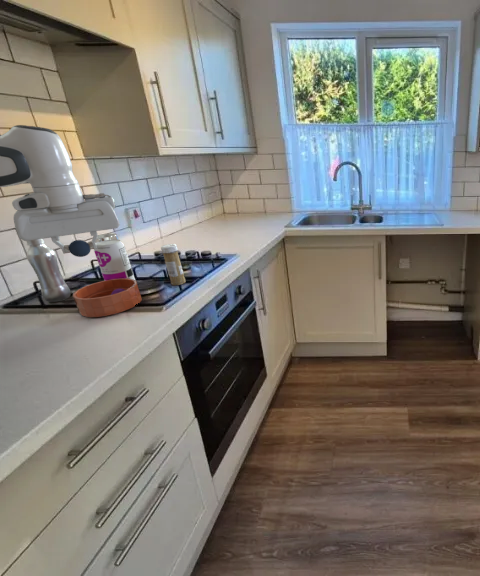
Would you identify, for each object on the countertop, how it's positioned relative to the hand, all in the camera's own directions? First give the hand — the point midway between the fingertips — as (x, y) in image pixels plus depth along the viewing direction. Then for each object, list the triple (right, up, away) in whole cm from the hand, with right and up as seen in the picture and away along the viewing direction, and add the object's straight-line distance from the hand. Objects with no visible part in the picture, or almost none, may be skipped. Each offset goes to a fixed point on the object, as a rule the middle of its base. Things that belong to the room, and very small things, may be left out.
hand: (80, 250), depth 95 cm
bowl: (-1, -15, +13) cm, 20 cm away
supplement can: (-10, -9, +28) cm, 31 cm away
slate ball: (0, -1, +1) cm, 2 cm away
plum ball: (-1, -13, +12) cm, 18 cm away
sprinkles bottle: (+10, -8, +29) cm, 31 cm away
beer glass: (-17, -5, +37) cm, 41 cm away
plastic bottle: (-22, -14, +18) cm, 31 cm away
